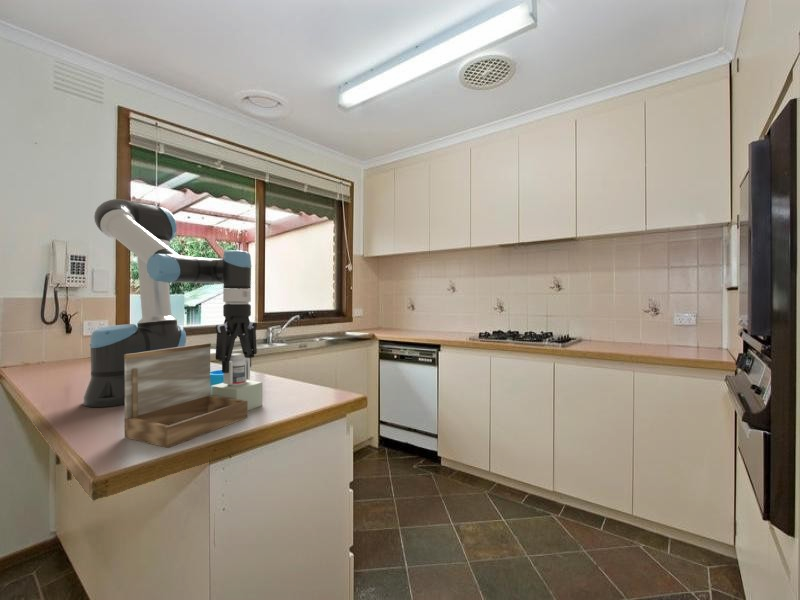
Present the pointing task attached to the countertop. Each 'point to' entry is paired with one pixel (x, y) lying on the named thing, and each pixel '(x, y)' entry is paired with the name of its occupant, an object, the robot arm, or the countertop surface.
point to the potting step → (241, 392)
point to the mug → (216, 378)
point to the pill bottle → (238, 369)
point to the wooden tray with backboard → (174, 396)
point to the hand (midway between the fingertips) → (237, 381)
